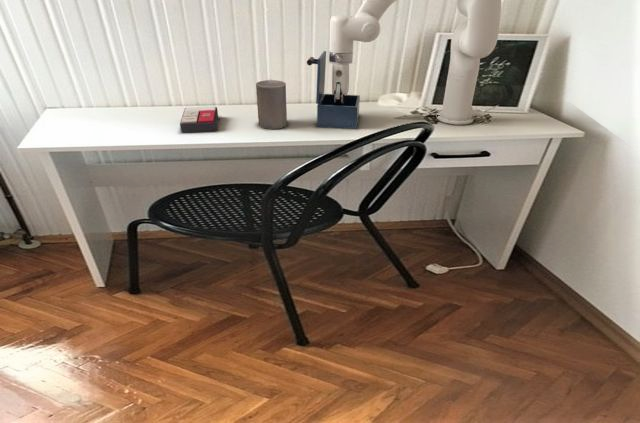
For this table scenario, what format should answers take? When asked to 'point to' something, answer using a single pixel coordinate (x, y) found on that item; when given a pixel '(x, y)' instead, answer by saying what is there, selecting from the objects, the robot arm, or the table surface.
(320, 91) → the lid
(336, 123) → the case
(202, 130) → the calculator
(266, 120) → the pillar candle
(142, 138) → the table surface
